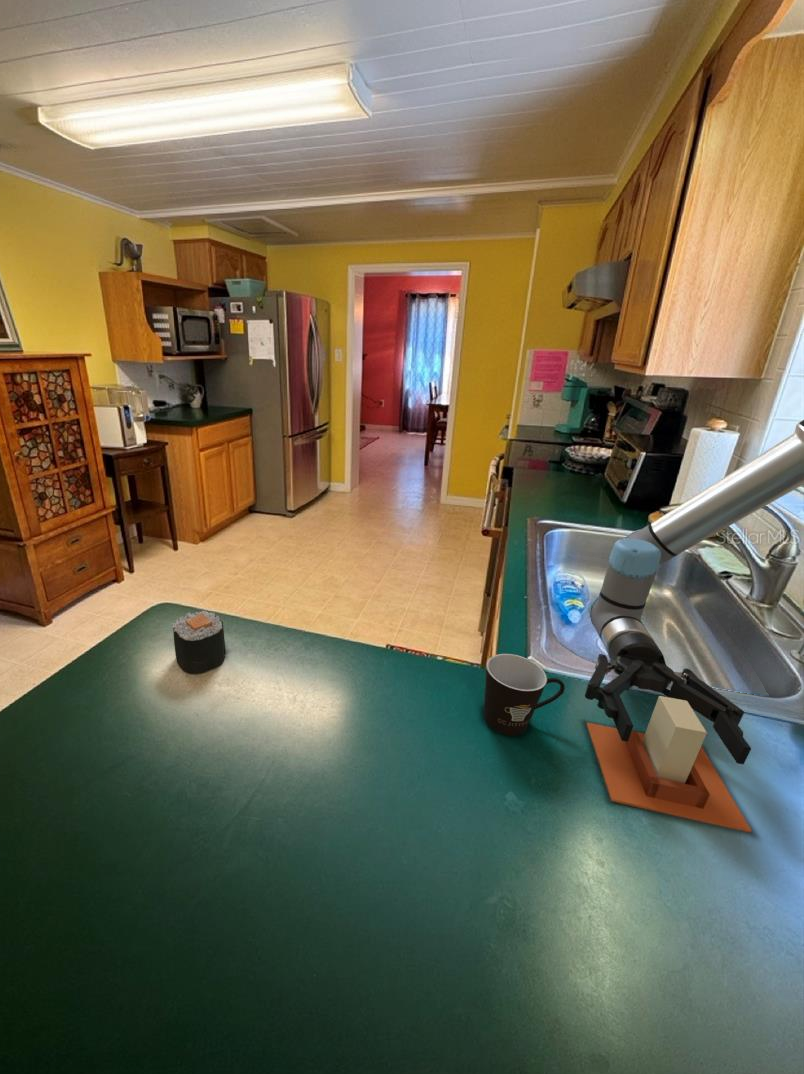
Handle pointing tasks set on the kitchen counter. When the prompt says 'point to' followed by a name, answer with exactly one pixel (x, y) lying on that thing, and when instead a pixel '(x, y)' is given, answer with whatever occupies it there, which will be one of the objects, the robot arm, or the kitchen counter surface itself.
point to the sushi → (199, 642)
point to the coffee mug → (514, 692)
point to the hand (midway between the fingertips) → (684, 744)
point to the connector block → (673, 739)
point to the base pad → (662, 782)
